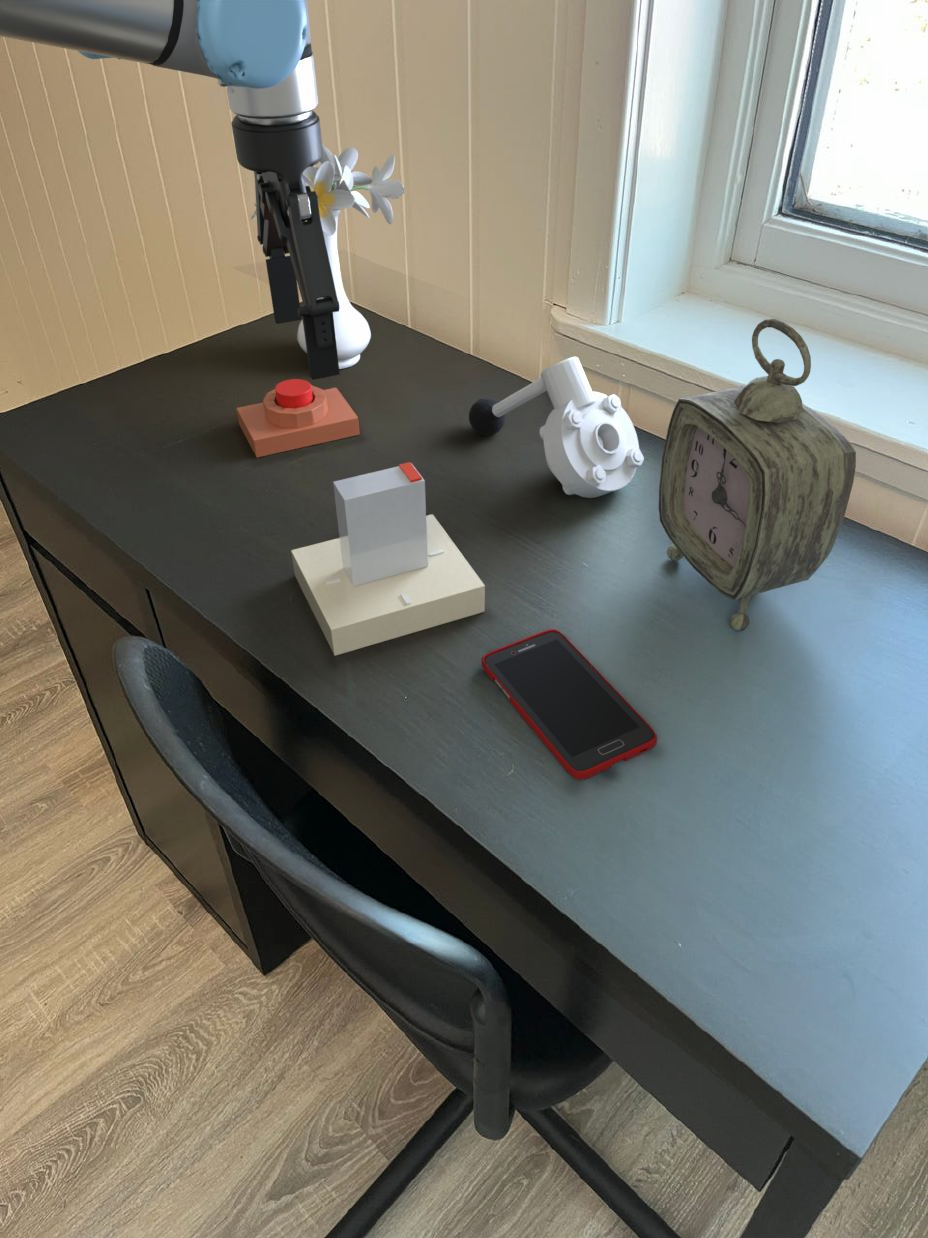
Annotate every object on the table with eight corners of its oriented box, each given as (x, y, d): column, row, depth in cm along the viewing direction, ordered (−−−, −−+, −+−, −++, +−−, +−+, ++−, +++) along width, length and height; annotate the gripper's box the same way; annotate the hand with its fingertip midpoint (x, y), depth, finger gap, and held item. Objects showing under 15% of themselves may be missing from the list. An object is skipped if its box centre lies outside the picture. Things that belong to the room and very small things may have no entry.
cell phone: (576, 786, 69) (577, 777, 68) (477, 664, 79) (477, 656, 78) (661, 746, 72) (662, 738, 71) (555, 634, 81) (555, 625, 81)
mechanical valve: (594, 501, 92) (533, 356, 90) (489, 541, 106) (435, 417, 105) (660, 469, 97) (603, 333, 96) (551, 511, 112) (501, 393, 111)
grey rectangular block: (353, 586, 82) (344, 497, 76) (342, 567, 84) (332, 479, 78) (428, 566, 84) (424, 477, 78) (415, 547, 86) (411, 460, 80)
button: (282, 412, 104) (280, 398, 103) (273, 397, 107) (270, 382, 106) (317, 405, 105) (315, 391, 104) (307, 390, 108) (305, 376, 107)
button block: (256, 457, 104) (251, 425, 101) (239, 424, 109) (233, 393, 107) (359, 434, 108) (357, 403, 105) (338, 403, 113) (334, 372, 110)
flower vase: (424, 349, 124) (417, 143, 108) (313, 397, 114) (286, 178, 98) (360, 320, 131) (344, 122, 115) (250, 363, 121) (215, 153, 105)
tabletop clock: (647, 553, 90) (686, 297, 74) (729, 532, 93) (783, 280, 76) (732, 648, 80) (798, 376, 64) (821, 623, 83) (907, 354, 66)
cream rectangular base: (334, 656, 80) (330, 628, 78) (294, 575, 88) (290, 548, 86) (485, 611, 84) (485, 584, 82) (433, 539, 92) (432, 512, 90)
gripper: (202, 86, 88) (241, 306, 102) (266, 157, 71) (302, 410, 85) (280, 78, 90) (308, 294, 104) (361, 144, 73) (381, 393, 87)
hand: (305, 347), depth 95 cm, fingers open, 13 cm apart
